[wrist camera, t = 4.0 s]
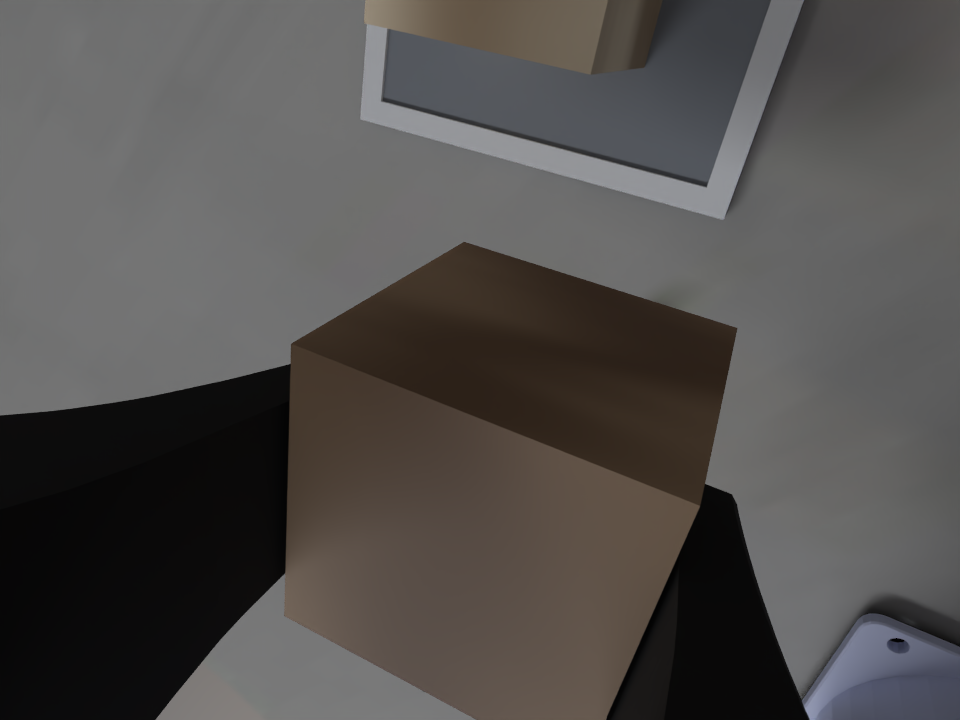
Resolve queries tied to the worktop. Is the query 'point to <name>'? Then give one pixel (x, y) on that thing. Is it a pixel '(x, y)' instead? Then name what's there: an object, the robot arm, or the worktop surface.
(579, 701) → the walnut block
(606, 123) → the grey square tray
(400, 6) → the beech block
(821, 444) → the worktop surface
